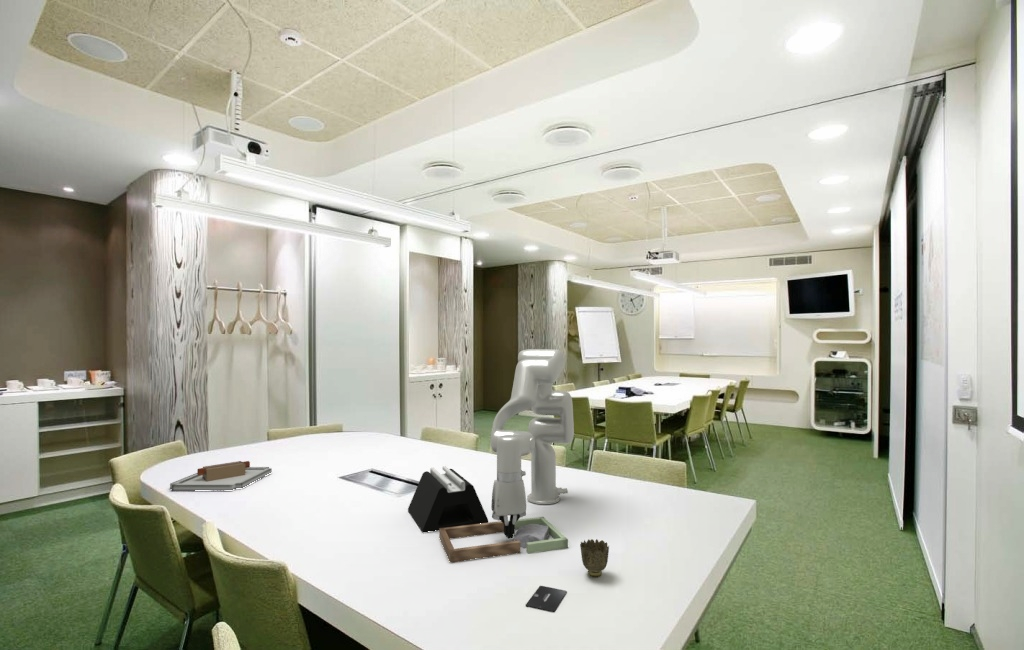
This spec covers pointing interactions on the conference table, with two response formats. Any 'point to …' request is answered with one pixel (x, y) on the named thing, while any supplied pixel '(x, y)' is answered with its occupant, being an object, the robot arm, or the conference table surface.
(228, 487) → the grey flat square tray
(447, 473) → the device stand
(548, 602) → the solid state drive
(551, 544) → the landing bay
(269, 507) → the conference table surface
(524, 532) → the stone block
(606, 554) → the cup
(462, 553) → the brown wooden u frame
